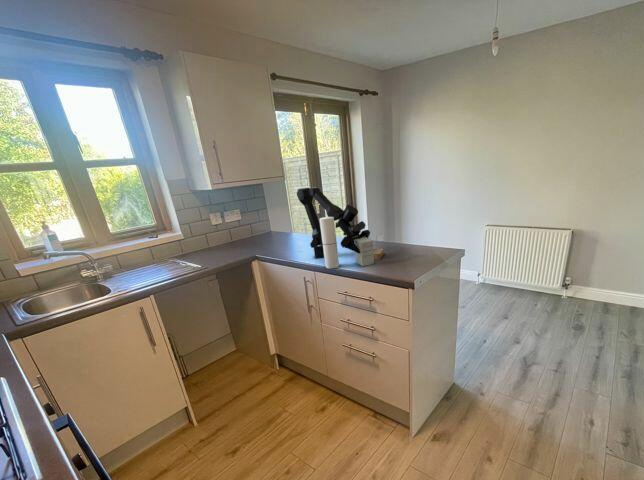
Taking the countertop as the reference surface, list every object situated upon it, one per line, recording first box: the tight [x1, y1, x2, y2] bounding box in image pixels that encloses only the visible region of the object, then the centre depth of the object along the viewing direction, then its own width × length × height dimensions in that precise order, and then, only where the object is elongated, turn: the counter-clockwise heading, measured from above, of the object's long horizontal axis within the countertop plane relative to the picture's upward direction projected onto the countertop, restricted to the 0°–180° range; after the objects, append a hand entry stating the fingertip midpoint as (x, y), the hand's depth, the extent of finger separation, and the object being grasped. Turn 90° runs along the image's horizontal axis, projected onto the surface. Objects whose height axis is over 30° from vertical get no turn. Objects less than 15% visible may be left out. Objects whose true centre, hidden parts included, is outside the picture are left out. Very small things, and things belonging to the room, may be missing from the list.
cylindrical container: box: [318, 216, 340, 270], centre depth 159 cm, size 7×7×25 cm
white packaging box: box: [354, 237, 375, 267], centre depth 160 cm, size 7×7×13 cm
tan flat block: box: [373, 248, 385, 260], centre depth 173 cm, size 11×10×3 cm
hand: (365, 250), depth 160 cm, fingers open, 9 cm apart
